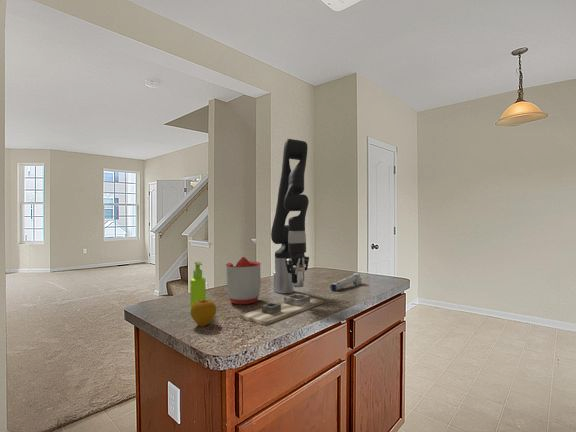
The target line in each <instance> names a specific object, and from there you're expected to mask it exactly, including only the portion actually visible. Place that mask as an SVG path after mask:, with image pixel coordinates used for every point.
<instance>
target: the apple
mask: <svg viewBox="0 0 576 432" xmlns="http://www.w3.org/2000/svg"><path fill="white" fill-rule="evenodd" d="M216 313H217V306H216V304H215V302H213V301H211V300H209V299H206V300H200V301H197V302H195V303H194V305H193V306H192V308H191V307H190V316H191V318H192V320H193V321H194V322H195V324H197V326H199V327H205V325H206V326H208V325H209V324H210V323H211V322H212V320H213V319H214V318H215V316H216Z"/></svg>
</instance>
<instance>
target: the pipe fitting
mask: <svg viewBox="0 0 576 432" xmlns="http://www.w3.org/2000/svg"><path fill="white" fill-rule="evenodd" d="M294 271H295V268H294ZM304 284H305V283H304V281H303V267H299V268H298V269H297V283H294V288H303V287H304Z"/></svg>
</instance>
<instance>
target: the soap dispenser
mask: <svg viewBox="0 0 576 432" xmlns="http://www.w3.org/2000/svg"><path fill="white" fill-rule="evenodd" d="M194 265H195V268H194V270H193V272H192V273H193V275H192V278H190V280H189V286H190V288H189V289H190V291H189V292H190V309H191V308H192V306H193V305H194V303H195V302H197V301H200V300H207V297H206V294H207V293H206V278H205V277H203V270H202V269H200V268H201V266H203V264H202V262H201V261H195V262H194Z"/></svg>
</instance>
